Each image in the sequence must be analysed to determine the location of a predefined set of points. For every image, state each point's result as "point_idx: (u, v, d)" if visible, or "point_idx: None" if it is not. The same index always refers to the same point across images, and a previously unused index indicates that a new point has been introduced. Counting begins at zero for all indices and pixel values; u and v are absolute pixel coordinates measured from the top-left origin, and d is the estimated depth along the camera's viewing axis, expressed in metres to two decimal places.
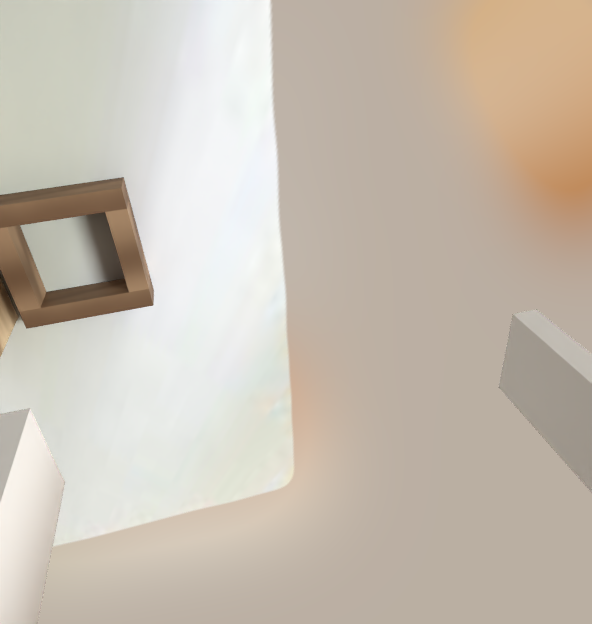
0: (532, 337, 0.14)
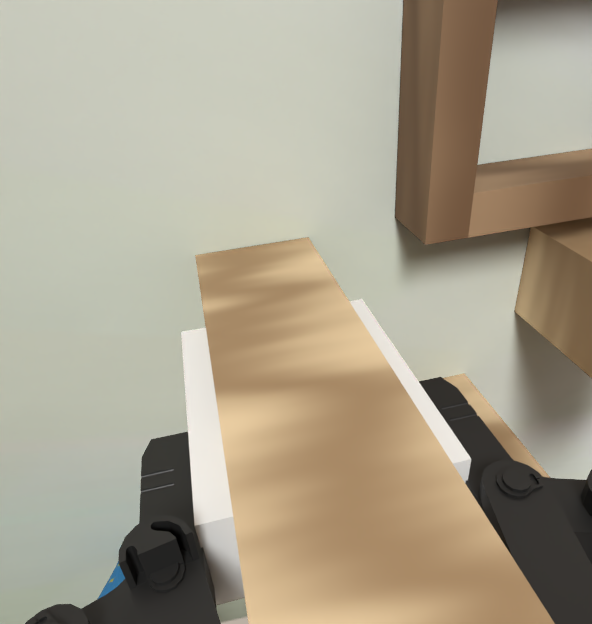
0: None
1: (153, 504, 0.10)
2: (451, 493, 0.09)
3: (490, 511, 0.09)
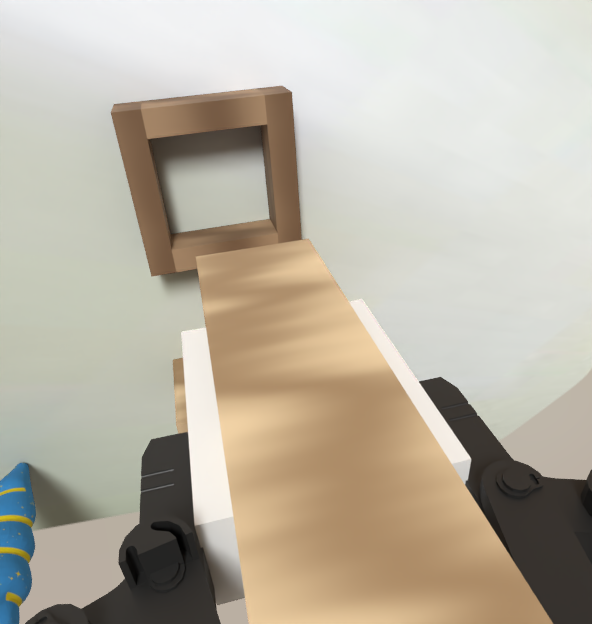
0: None
1: (153, 504, 0.10)
2: (451, 496, 0.09)
3: (490, 511, 0.09)
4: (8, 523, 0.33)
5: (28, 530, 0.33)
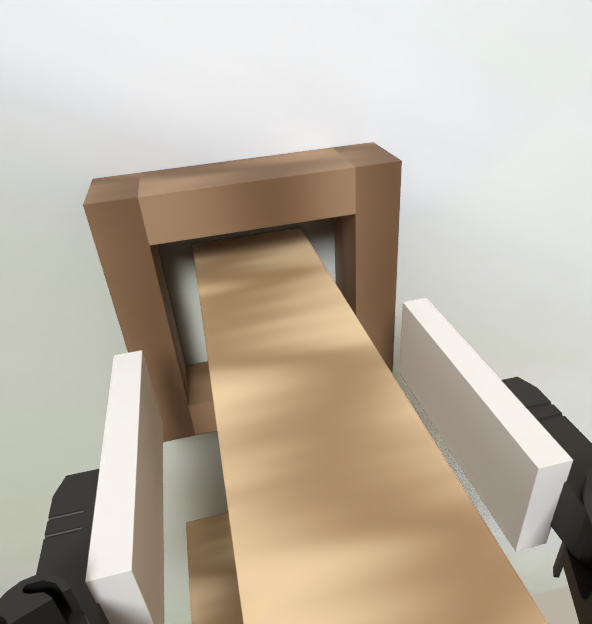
0: (416, 323, 0.14)
1: (55, 551, 0.10)
2: (422, 451, 0.09)
3: None
4: None
5: None
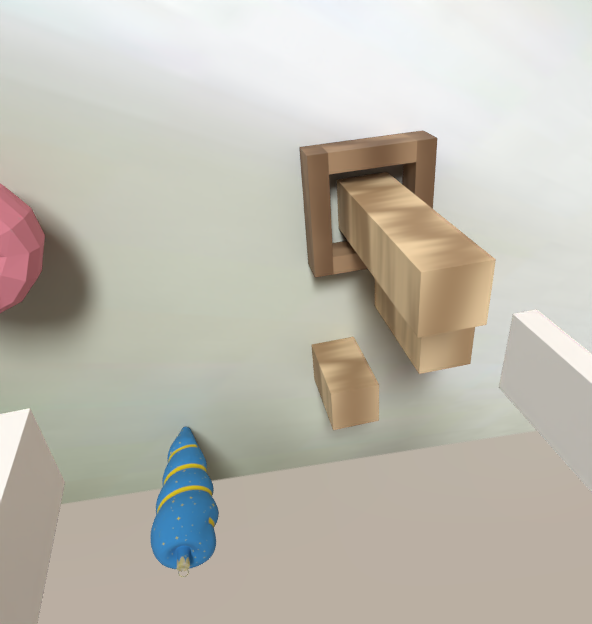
0: (532, 337, 0.14)
1: None
2: (447, 225, 0.30)
3: None
4: (196, 469, 0.42)
5: None
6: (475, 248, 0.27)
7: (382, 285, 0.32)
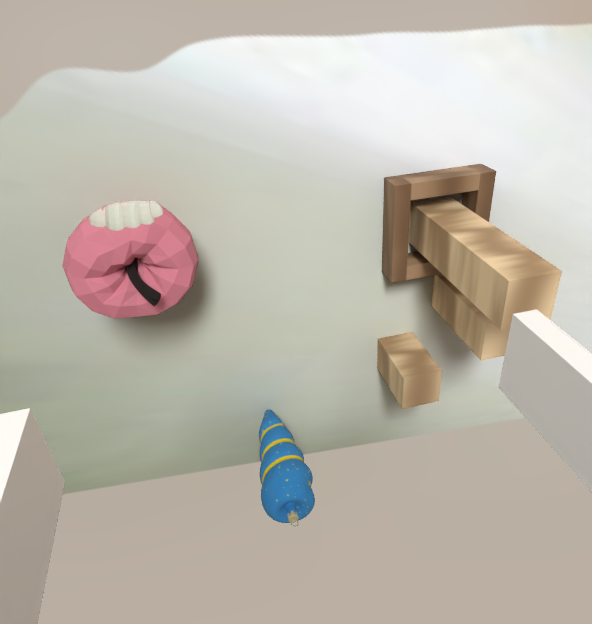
0: (532, 337, 0.14)
1: None
2: (516, 244, 0.39)
3: None
4: (289, 443, 0.50)
5: None
6: (544, 262, 0.36)
7: (461, 289, 0.41)
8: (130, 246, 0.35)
